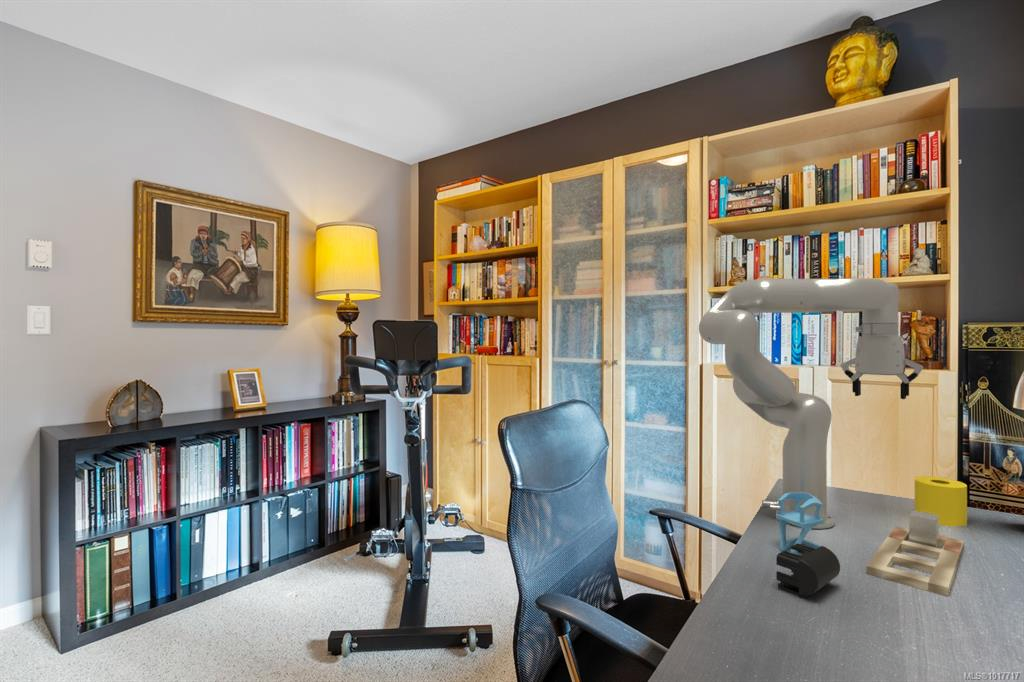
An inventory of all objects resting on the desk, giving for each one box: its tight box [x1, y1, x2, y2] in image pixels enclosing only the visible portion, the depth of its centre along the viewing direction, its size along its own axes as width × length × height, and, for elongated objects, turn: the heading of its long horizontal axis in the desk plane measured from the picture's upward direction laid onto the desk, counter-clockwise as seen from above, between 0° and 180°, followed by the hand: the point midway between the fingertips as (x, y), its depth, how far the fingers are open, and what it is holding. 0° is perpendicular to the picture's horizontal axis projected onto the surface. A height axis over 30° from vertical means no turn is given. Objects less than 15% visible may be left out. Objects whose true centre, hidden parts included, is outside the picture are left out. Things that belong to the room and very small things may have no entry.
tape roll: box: [914, 475, 968, 527], centre depth 126 cm, size 10×10×9 cm
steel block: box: [908, 510, 940, 548], centre depth 109 cm, size 4×4×7 cm
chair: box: [775, 492, 824, 554], centre depth 108 cm, size 8×8×12 cm
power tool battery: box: [775, 543, 841, 598], centre depth 92 cm, size 10×7×7 cm
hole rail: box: [865, 525, 965, 597], centre depth 103 cm, size 12×30×2 cm, turn 134°
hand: (880, 397), depth 130 cm, fingers open, 9 cm apart
